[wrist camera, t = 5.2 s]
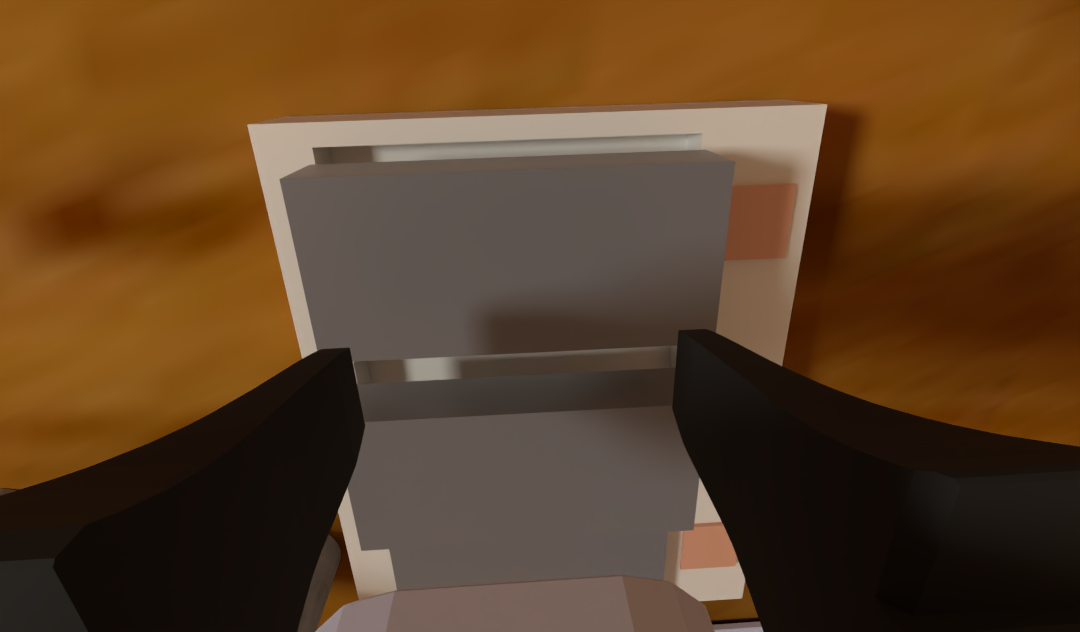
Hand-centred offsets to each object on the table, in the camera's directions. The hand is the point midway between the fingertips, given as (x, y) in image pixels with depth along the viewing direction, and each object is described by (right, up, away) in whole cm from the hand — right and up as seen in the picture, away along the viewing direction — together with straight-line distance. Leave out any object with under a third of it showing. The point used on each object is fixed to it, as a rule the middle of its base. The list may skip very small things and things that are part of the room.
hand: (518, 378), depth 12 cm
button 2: (0, +3, +4) cm, 6 cm away
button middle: (0, -3, +7) cm, 8 cm away
